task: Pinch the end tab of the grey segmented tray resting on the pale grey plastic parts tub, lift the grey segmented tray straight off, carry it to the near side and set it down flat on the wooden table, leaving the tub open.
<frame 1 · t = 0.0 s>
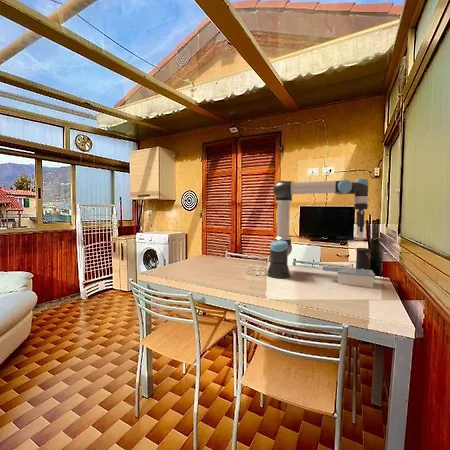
hand: (359, 236, 160), 28 cm above the table, fingers open, 13 cm apart
part b: (348, 281, 152), point 1 cm above the table, touching tub
tub: (354, 284, 149), on the table
container: (362, 278, 164), on the table
part a: (360, 284, 146), point 1 cm above the table, touching tub
grey segmented tray: (354, 272, 149), point 7 cm above the table, touching tub
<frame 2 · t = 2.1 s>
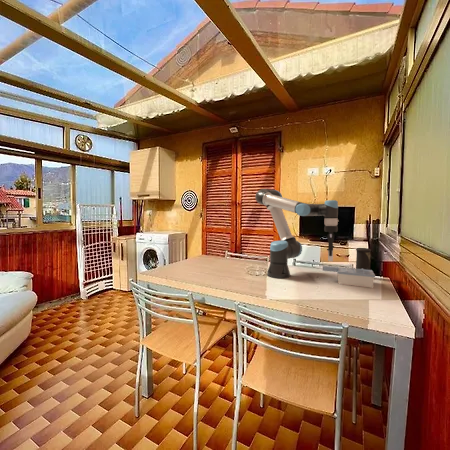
hand: (330, 259, 154), 14 cm above the table, fingers open, 13 cm apart
nothing on the table moved.
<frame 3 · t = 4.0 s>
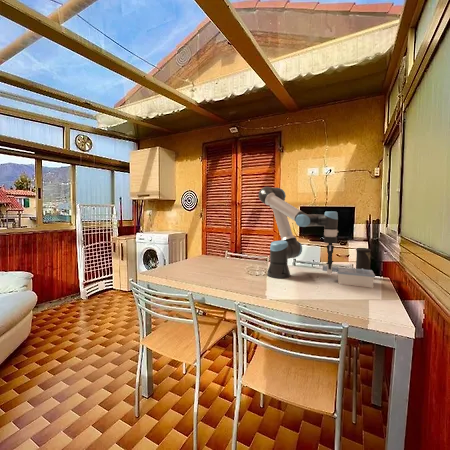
hand: (329, 273, 155), 5 cm above the table, fingers closed on grey segmented tray, 4 cm apart
grey segmented tray: (354, 272, 149), point 7 cm above the table, touching gripper, tub
everything else where it was.
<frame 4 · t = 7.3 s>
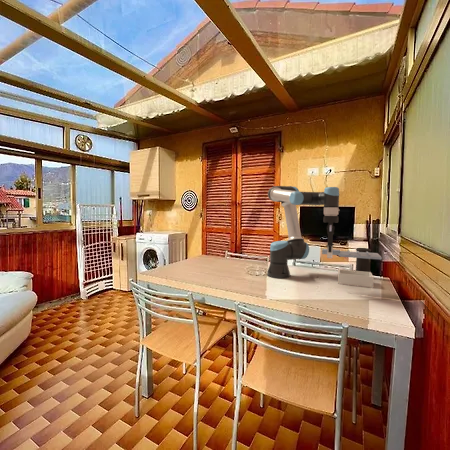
hand: (329, 257, 138), 18 cm above the table, fingers closed on grey segmented tray, 4 cm apart
grey segmented tray: (358, 255, 132), point 20 cm above the table, touching gripper
everything else where it was.
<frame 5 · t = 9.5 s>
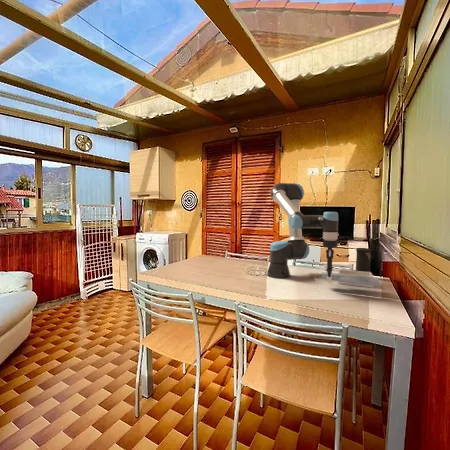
hand: (329, 281, 138), 5 cm above the table, fingers closed on grey segmented tray, 4 cm apart
grey segmented tray: (357, 280, 132), point 7 cm above the table, touching gripper
everything else where it was.
when the fingers open (1 cm above the table, at t = 11.0 s): grey segmented tray drops 3 cm, on the table.
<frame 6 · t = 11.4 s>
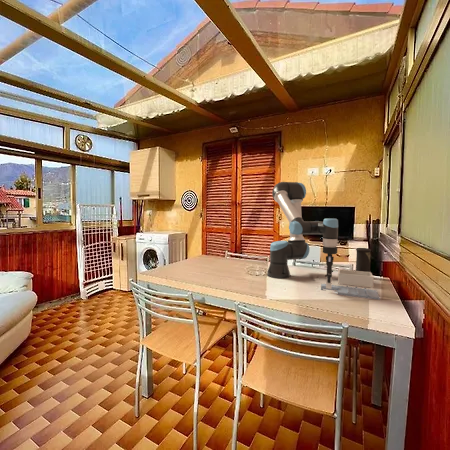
hand: (328, 285, 138), 2 cm above the table, fingers open, 10 cm apart
grey segmented tray: (356, 293, 133), on the table
everything else where it was.
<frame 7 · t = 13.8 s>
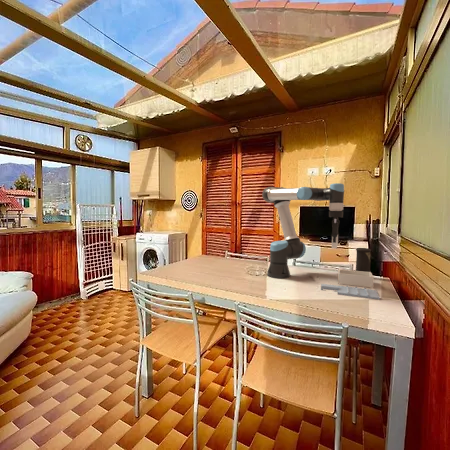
hand: (334, 246, 145), 23 cm above the table, fingers open, 13 cm apart
nothing on the table moved.
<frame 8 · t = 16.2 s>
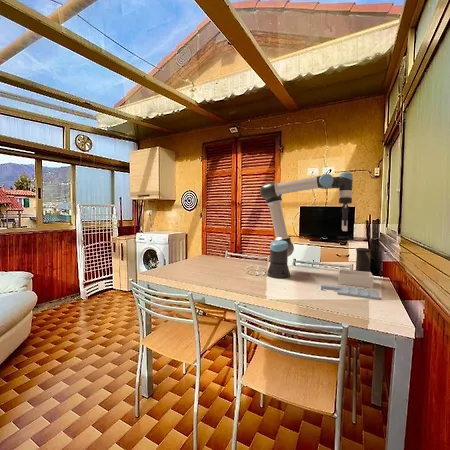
hand: (344, 230, 160), 32 cm above the table, fingers open, 13 cm apart
nothing on the table moved.
at the end: grey segmented tray inside the target area (1.2 cm from its centre), on the table; grey segmented tray touching table; the gripper is holding nothing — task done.
